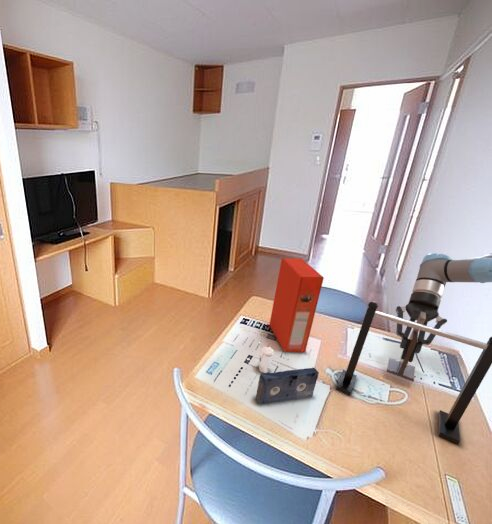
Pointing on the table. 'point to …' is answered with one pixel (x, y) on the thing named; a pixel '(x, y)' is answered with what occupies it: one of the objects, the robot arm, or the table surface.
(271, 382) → the vhs cassette tape
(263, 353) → the milkshake
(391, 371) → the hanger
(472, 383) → the coat rack
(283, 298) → the file binder
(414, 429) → the table surface
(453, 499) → the table surface
